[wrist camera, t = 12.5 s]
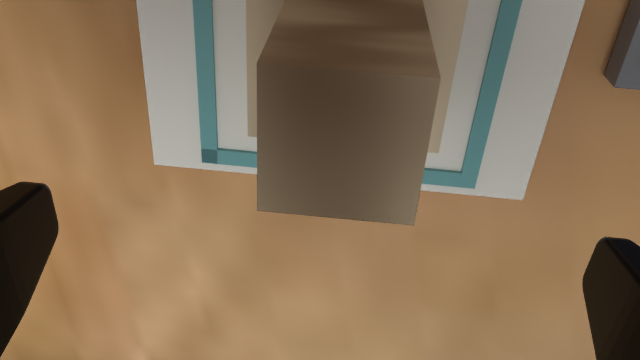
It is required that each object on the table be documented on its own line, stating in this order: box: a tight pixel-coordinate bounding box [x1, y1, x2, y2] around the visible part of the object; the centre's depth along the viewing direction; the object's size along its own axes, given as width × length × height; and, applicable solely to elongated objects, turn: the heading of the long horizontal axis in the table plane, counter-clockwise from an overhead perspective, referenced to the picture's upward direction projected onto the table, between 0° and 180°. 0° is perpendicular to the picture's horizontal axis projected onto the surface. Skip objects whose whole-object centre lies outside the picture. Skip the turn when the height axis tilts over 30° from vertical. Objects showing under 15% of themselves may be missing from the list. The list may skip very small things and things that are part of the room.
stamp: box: [246, 0, 469, 225], centre depth 15 cm, size 6×6×8 cm
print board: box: [136, 0, 585, 200], centre depth 19 cm, size 14×12×1 cm
